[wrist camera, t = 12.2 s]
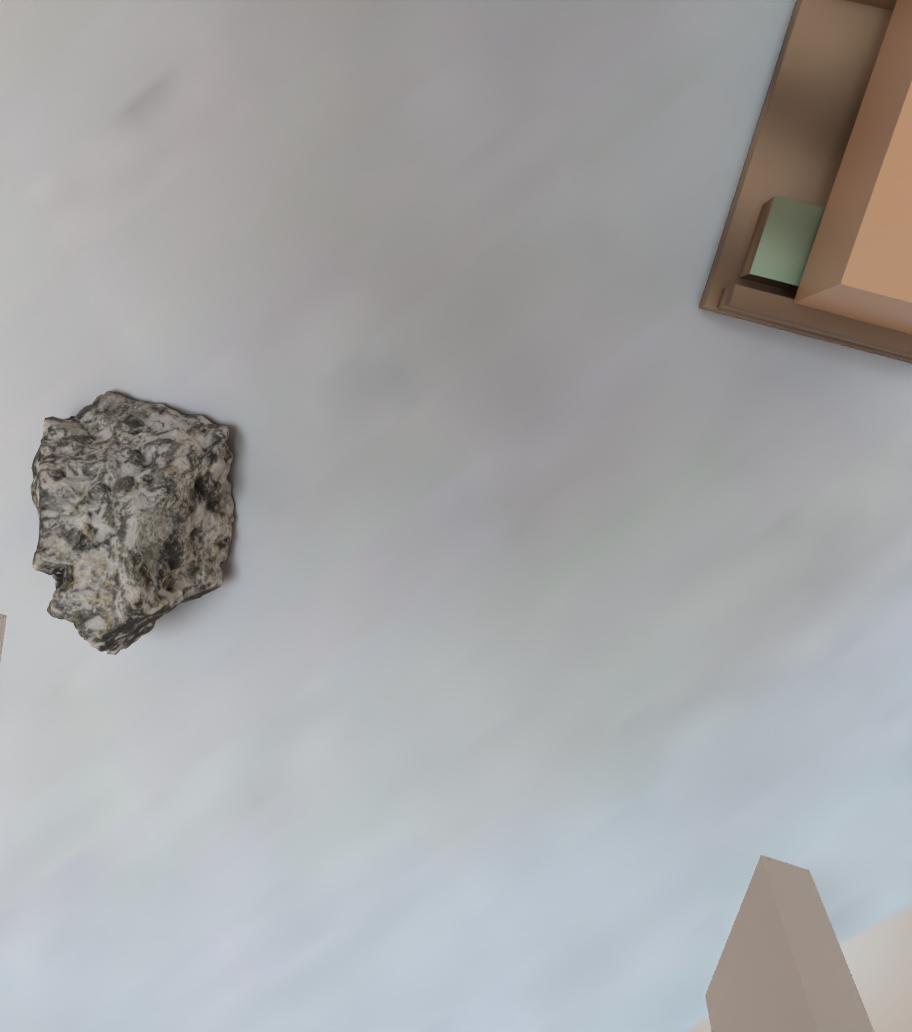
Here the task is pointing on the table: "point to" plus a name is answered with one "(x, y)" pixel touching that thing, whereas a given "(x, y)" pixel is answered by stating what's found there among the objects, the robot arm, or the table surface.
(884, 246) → the tan rectangular block
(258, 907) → the table surface
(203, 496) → the rock
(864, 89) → the stand
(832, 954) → the robot arm
